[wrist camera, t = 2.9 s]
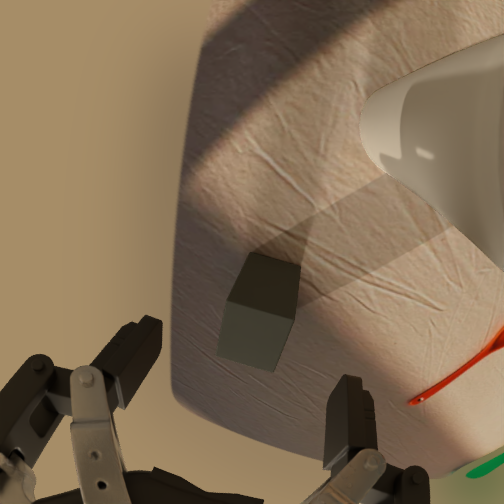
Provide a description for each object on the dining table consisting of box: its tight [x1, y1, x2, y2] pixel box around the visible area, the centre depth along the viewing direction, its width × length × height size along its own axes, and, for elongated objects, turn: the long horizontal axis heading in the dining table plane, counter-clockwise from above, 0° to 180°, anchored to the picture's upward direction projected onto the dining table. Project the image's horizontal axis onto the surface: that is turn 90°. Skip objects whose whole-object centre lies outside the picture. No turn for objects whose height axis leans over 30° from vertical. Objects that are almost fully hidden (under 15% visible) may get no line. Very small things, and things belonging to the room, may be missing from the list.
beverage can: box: [359, 34, 504, 272], centre depth 7 cm, size 5×5×12 cm
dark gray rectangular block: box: [215, 252, 301, 373], centre depth 15 cm, size 3×4×5 cm
